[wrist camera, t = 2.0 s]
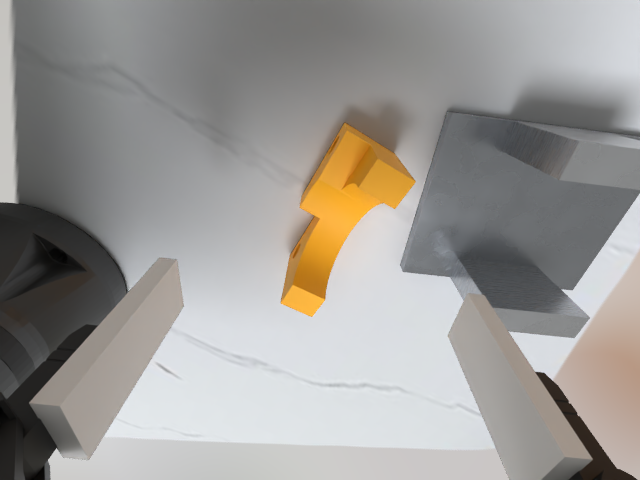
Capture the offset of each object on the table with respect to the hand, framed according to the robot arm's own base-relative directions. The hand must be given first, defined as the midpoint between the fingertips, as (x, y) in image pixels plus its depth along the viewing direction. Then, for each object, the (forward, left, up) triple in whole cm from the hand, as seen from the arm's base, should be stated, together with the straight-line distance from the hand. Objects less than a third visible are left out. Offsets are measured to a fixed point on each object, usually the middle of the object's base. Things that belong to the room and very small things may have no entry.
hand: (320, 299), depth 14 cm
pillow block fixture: (+15, +1, -12) cm, 20 cm away
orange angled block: (0, 0, -12) cm, 12 cm away
